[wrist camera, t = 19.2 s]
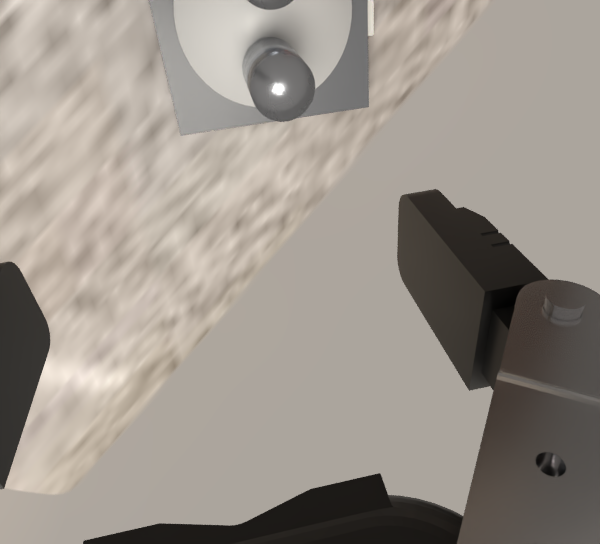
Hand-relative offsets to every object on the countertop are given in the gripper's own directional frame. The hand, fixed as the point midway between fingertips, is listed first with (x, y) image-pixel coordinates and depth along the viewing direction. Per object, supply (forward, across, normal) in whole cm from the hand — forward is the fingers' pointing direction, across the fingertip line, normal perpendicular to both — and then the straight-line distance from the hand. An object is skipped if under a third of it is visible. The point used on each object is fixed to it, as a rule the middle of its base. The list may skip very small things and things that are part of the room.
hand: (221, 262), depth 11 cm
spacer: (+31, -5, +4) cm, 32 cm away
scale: (+36, -5, 0) cm, 36 cm away
